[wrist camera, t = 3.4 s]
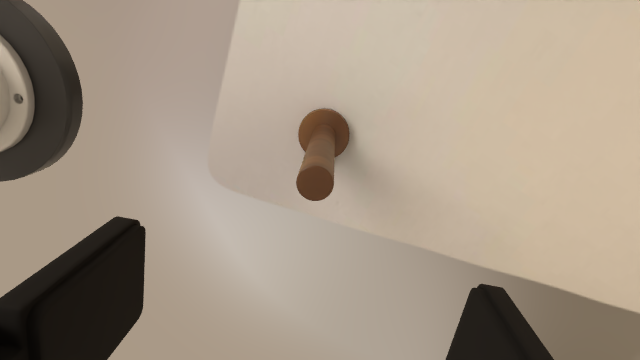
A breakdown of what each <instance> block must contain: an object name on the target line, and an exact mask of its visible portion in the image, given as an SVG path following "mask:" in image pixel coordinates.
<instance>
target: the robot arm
mask: <svg viewBox="0 0 640 360" xmlns="http://www.w3.org/2000/svg"><path fill="white" fill-rule="evenodd" d="M34 110H35V96H34V91H33V86H32V82H31V79H30V77H29V74H28V71H27V69H26V67H25V65H24V63H23V62H22V60H21V58H20V56H19V55H18V54H17V52H16V51H15V50H14V49H13V47H12V46H11V45H10V44H9V43H8V42H7V41H6V40H5V39H4V38H3V37H2V36H1V35H0V152H2V151H5V150H7V149H9V148H11V147H13V146H14V145H16V144H17V143H18V142H19V141H21V140H22V139H23V137H24V136H25V135H26V133H27V132H28V130H29V128H30V126H31V123H32V121H33V116H34ZM144 262H145V228H144V227H143V226H140V222H139V221H138V220H134V219H128V218H123V217H115V218H113V219H111V220H110V221H109V222H107V223H106V224H104V225H103V226H102V227H100V228H99V229H97V230H96V231H94V232H93V233H92V234H90V235H89V236H87V237H86V238H84V239H83V240H82V241H80V242H79V243H78V244H76V245H75V246H74V247H72V248H70V249H69V250H68V251H66V252H65V253H63V254H62V255H60V256H59V257H58V258H56V259H55V260H53V261H52V262H50V263H49V264H48V265H46V266H45V267H44V268H42V269H41V270H39V271H38V272H37V273H35V274H33V275H32V276H31V277H29V278H28V279H27V280H25V281H24V282H22V283H21V284H19V285H18V286H16V287H15V288H14V289H12V290H11V291H10V292H8V293H7V294H5V295H4V296H2V297H1V298H0V360H107V359H108V358H109V357H110V355H111V354H112V353H113V351H114V350H115V349H116V347H117V346H118V345H119V344H120V342H121V341H122V340H123V338H124V337H125V336H126V335H127V333H128V332H129V331H130V329H131V328H132V327H133V325H134V324H135V323H136V322H137V320H138V319H139V317H140V315H141V313H142V309H143V293H144ZM446 360H554V359H553V358H552V356H551V355H550V353H549V352H548V351H547V349H546V348H545V347H544V345H543V344H542V342H541V341H540V339H539V338H538V337H537V335H536V334H535V332H534V331H533V330H532V328H531V327H530V325H529V324H528V322H527V321H526V320H525V318H524V317H523V315H522V314H521V312H520V311H519V310H518V308H517V307H516V306H515V304H514V303H513V301H512V300H511V298H510V297H509V296H508V294H507V293H506V291H505V290H504V289H503V288H501V287H496V286H491V285H485V284H480V285H479V286H478V287H477V288H472V289H471V291H470V293H469V296H468V299H467V302H466V305H465V308H464V310H463V313H462V316H461V318H460V322H459V324H458V327H457V330H456V332H455V335H454V338H453V341H452V343H451V346H450V349H449V352H448V355H447V357H446Z"/></svg>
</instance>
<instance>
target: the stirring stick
mask: <svg viewBox="0 0 640 360" xmlns="http://www.w3.org/2000/svg"><path fill="white" fill-rule="evenodd" d="M298 136H299V142H300V144H301V147H302V148H303V150H304V151H305V152H306V153H305V156H304V159H303V162H302V165H301V168H300V171H299V174H298V177H297V181H296V185H297V189H298V191H299V193H300V194H301V195H302V196H303V197H304V198H306V199H308V200H312V201H319V200H322V199H325V198H326V197H328V196H329V195H330V193H331V192H332V190H333V186H334V162H335V157H337V156H338V155H340V154H341V153H342V152H343V151H344V150H345V148H346V146H347V144H348V141H349V128H348V125H347V122H346V121H345V119H344V118H343V117H342V116H341V115H340V114H339V113H338V112H336V111H334V110H331V109H317V110H314V111H312V112H311V113H309V114H308V115H307V116H306V117H305V118H304V119H303V121H302V123H301V125H300V127H299V133H298Z"/></svg>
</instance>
